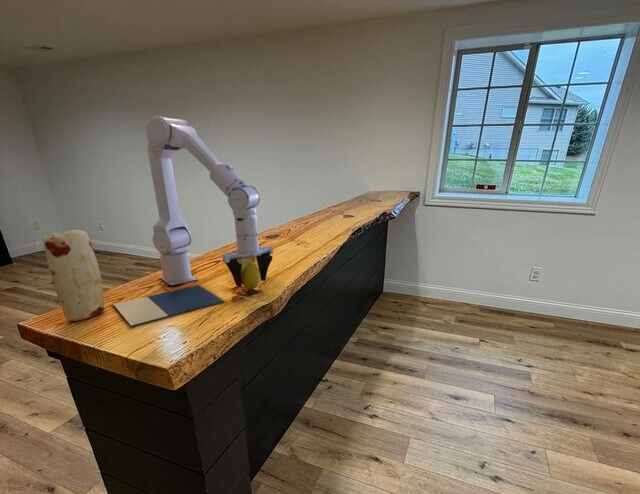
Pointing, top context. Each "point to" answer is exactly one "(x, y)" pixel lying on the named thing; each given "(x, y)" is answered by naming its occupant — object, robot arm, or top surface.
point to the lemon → (250, 276)
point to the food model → (75, 274)
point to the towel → (165, 305)
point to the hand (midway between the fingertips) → (251, 282)
